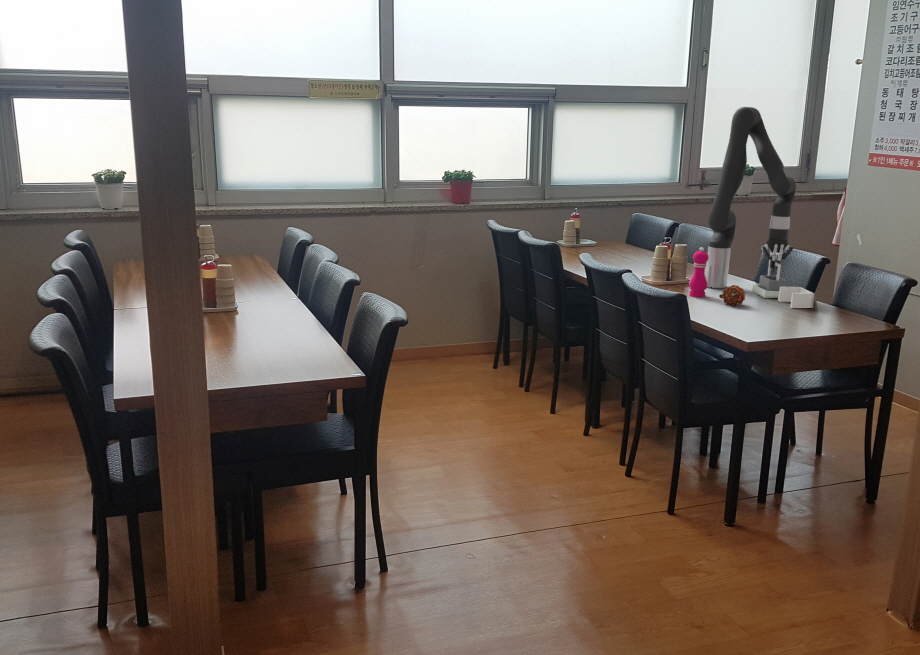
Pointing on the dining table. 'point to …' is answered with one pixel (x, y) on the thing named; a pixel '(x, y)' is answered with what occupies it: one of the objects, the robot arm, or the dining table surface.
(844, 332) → the dining table surface
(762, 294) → the tray
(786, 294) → the bay
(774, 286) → the caddy
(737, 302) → the brown scaly oval lump
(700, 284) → the pepper mill
